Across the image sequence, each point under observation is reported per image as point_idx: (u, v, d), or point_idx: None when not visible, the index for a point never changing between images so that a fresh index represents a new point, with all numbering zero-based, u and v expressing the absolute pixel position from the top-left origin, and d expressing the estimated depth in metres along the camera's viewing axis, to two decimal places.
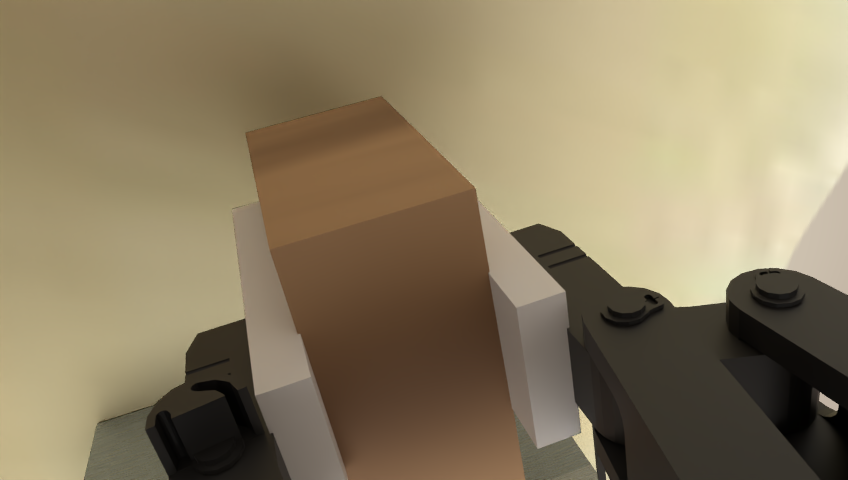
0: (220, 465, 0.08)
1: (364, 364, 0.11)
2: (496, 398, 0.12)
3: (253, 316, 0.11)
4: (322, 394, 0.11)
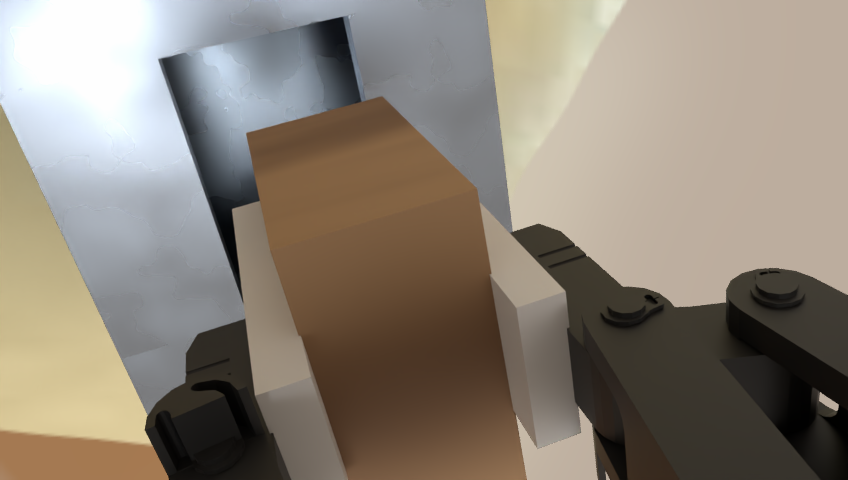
0: (220, 465, 0.08)
1: (365, 366, 0.11)
2: (498, 400, 0.12)
3: (253, 316, 0.11)
4: (323, 396, 0.11)
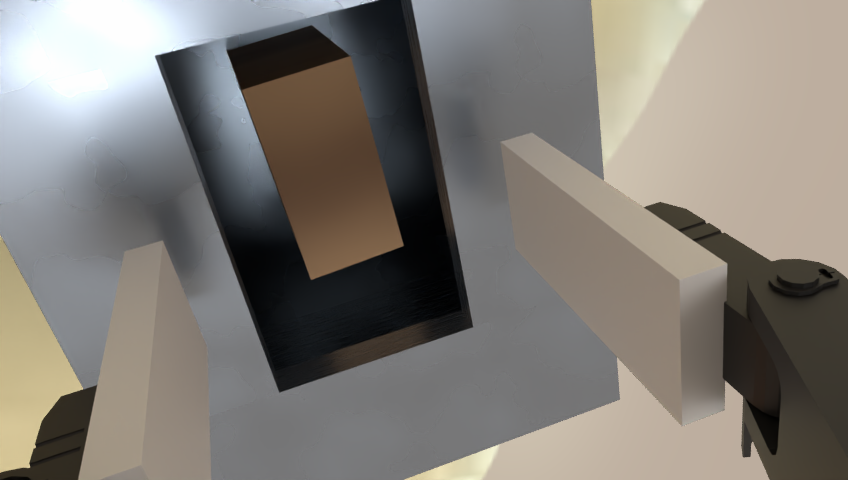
0: None
1: (298, 160, 0.20)
2: (377, 185, 0.21)
3: (105, 385, 0.10)
4: (276, 177, 0.20)
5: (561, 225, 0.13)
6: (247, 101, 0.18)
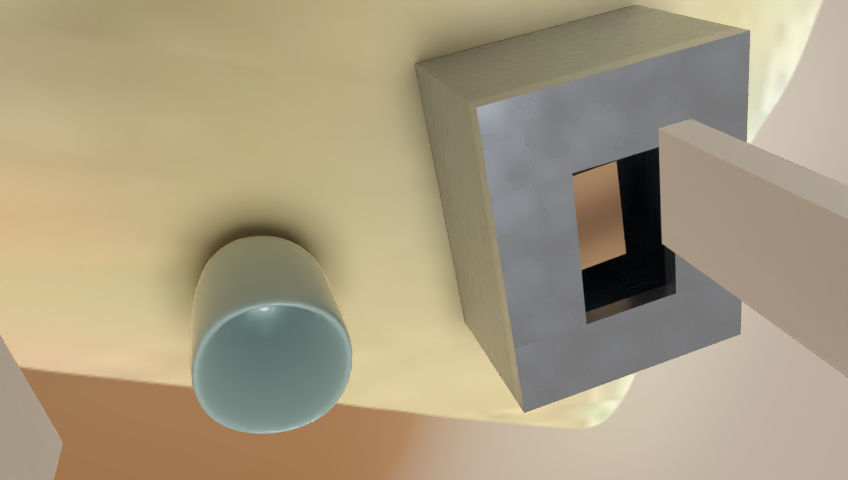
0: None
1: (584, 210, 0.39)
2: (618, 222, 0.40)
3: None
4: None
5: (751, 216, 0.12)
6: None
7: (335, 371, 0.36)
